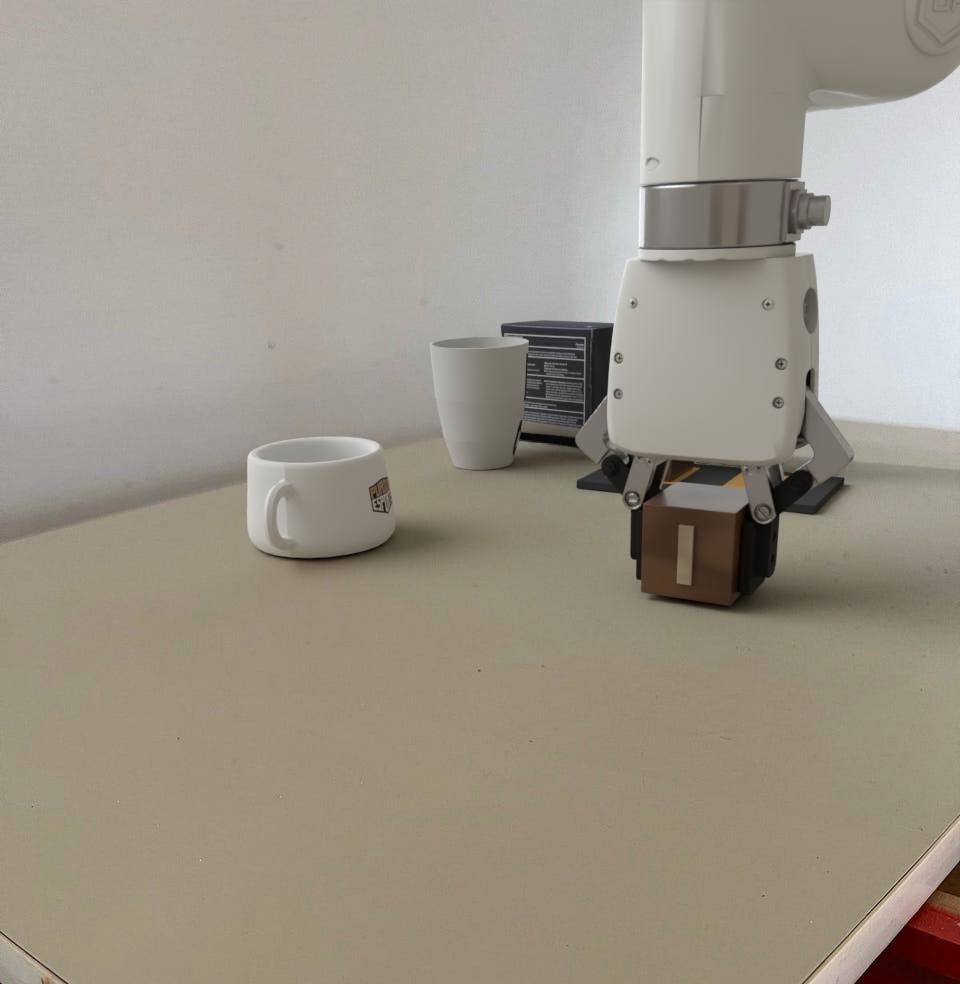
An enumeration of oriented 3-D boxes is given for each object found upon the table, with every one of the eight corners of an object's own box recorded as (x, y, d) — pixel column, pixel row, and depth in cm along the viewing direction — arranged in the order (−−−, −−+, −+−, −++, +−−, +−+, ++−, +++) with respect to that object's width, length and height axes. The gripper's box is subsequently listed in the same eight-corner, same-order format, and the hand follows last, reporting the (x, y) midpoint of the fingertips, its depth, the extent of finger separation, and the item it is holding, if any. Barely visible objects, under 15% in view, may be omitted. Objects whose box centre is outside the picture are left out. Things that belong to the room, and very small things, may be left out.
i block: (758, 577, 58) (764, 489, 56) (729, 607, 53) (734, 514, 52) (673, 565, 60) (676, 481, 58) (639, 593, 56) (641, 504, 54)
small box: (632, 439, 95) (635, 321, 91) (590, 451, 91) (592, 328, 87) (542, 427, 102) (542, 316, 98) (499, 438, 97) (497, 323, 93)
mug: (291, 516, 74) (283, 432, 71) (417, 523, 71) (413, 436, 69) (201, 568, 63) (188, 471, 61) (345, 579, 60) (337, 479, 58)
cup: (545, 467, 86) (544, 343, 82) (454, 478, 83) (449, 350, 79) (507, 449, 93) (505, 334, 89) (422, 459, 90) (416, 340, 86)
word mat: (843, 485, 78) (844, 475, 77) (814, 514, 70) (815, 504, 70) (622, 463, 86) (622, 455, 86) (576, 488, 79) (576, 479, 79)
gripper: (918, 217, 49) (875, 580, 56) (588, 227, 57) (588, 543, 64) (887, 222, 43) (844, 628, 50) (524, 233, 51) (532, 580, 58)
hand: (700, 577), depth 57 cm, fingers closed on i block, 5 cm apart
